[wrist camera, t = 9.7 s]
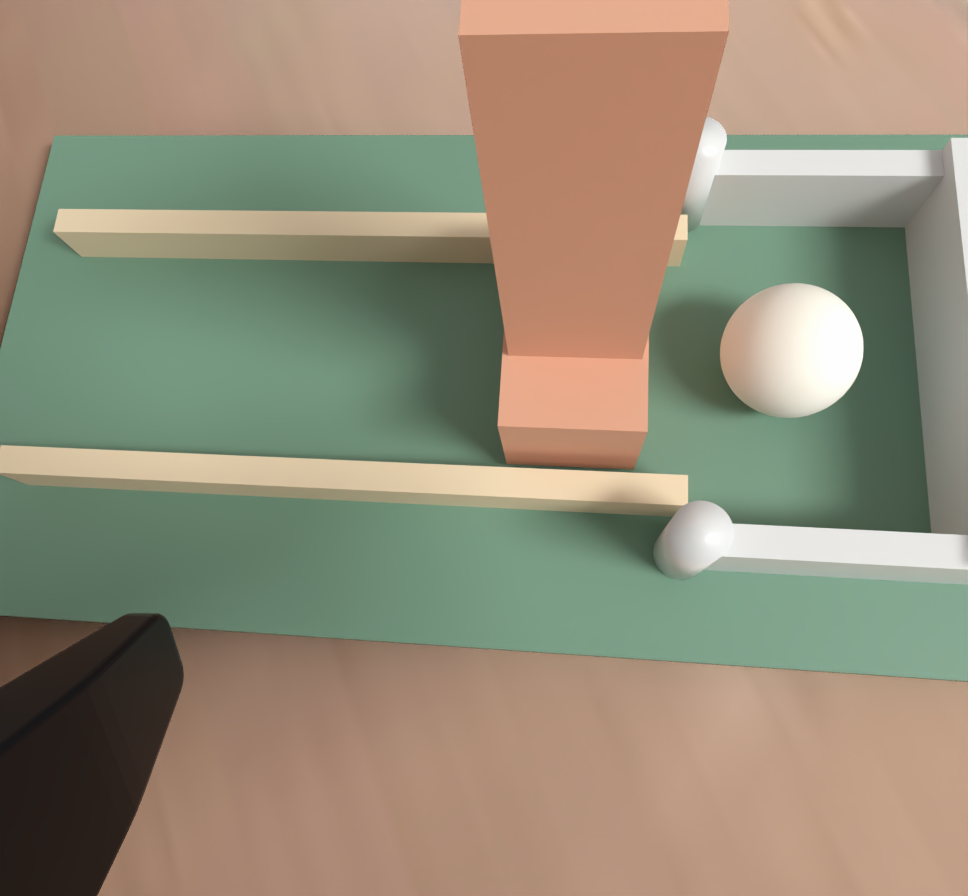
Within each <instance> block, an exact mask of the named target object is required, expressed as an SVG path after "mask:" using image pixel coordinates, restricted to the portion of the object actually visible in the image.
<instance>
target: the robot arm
mask: <svg viewBox="0 0 968 896" xmlns="http://www.w3.org/2000/svg"><path fill="white" fill-rule="evenodd" d="M183 677H184V673H183V665H182V662H181V659H180V656H179V653H178V649H177V646H176V643H175V640H174V637H173V634H172V631H171V627H170V624H169V622H168V620H167V619H166V618H165V616H163V615H161V614H159V613H128V614H125V615H123V616H121V617H119V618H118V619H116V620H114V621H113V622H111V623H109V624H107V625H106V626H104V627H102V628H101V629H99V630H97V631H96V632H94V633H92V634H90V635H89V636H87V637H85V638H84V639H82V640H80V641H79V642H77V643H75V644H73V645H72V646H70V647H68V648H67V649H65V650H63V651H62V652H60V653H58V654H56V655H55V656H53V657H51V658H50V659H48V660H46V661H45V662H43V663H41V664H39V665H38V666H36V667H34V668H33V669H31V670H29V671H28V672H26V673H24V674H22V675H21V676H19V677H17V678H16V679H14V680H12V681H11V682H9V683H7V684H5V685H4V686H2V687H0V896H97V895H98V893H99V891H100V889H101V887H102V885H103V883H104V880H105V878H106V876H107V874H108V872H109V870H110V868H111V866H112V864H113V862H114V859H115V857H116V855H117V853H118V851H119V849H120V847H121V845H122V843H123V841H124V839H125V836H126V834H127V832H128V830H129V828H130V825H131V823H132V821H133V819H134V817H135V814H136V812H137V810H138V807H139V805H140V802H141V800H142V797H143V795H144V792H145V789H146V787H147V784H148V781H149V778H150V775H151V773H152V770H153V767H154V764H155V761H156V759H157V756H158V753H159V750H160V748H161V745H162V742H163V739H164V736H165V734H166V731H167V728H168V725H169V723H170V720H171V717H172V714H173V711H174V709H175V706H176V703H177V700H178V698H179V695H180V692H181V689H182V685H183Z"/></svg>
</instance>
